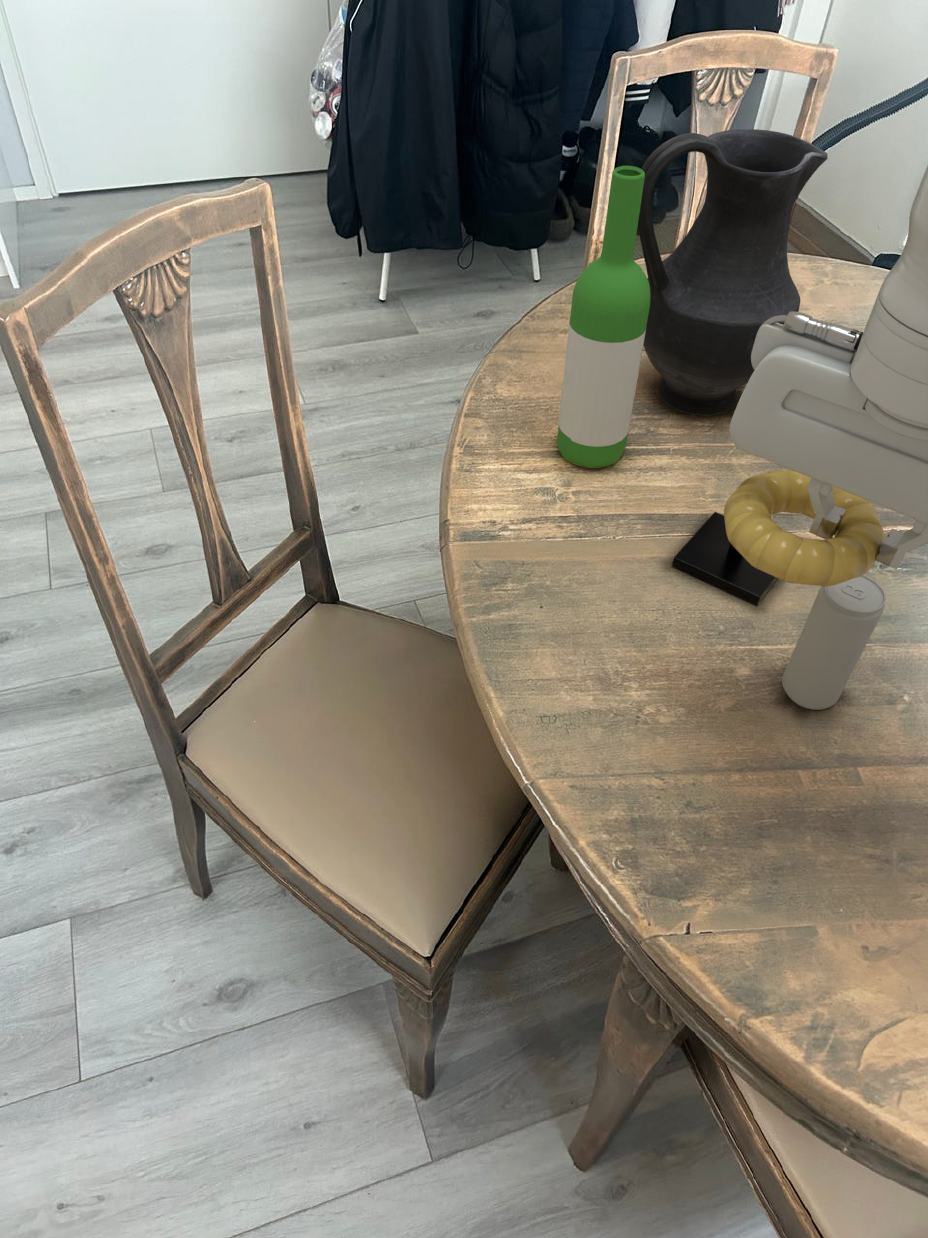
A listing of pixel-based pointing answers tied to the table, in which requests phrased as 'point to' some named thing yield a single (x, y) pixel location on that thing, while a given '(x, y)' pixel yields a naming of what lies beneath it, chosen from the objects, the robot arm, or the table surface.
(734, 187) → the pitcher
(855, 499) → the ring doughnut
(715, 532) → the post
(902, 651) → the table surface
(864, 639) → the beverage can
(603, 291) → the bottle
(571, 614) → the table surface
